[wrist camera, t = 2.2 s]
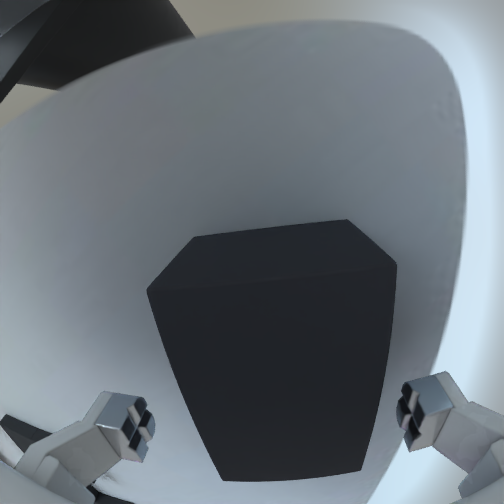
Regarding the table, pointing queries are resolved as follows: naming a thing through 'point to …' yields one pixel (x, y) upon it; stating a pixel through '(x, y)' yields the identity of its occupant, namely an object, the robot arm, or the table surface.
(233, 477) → the black box
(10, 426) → the base pad
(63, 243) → the table surface
